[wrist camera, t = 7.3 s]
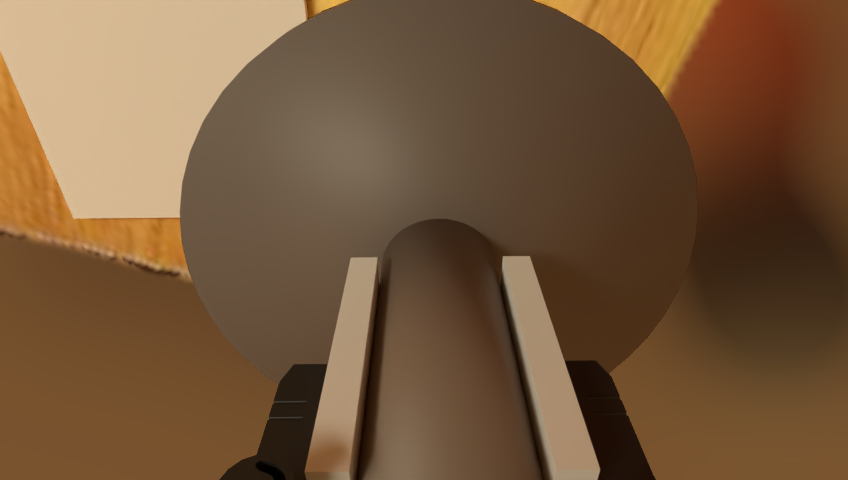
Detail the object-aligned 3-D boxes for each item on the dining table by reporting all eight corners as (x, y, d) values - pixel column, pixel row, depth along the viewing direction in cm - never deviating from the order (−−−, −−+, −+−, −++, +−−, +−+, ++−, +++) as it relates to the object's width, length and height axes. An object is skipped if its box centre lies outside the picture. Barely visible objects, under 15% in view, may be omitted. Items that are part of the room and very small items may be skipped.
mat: (-52, -89, 26) (-61, -90, 25) (295, -93, 26) (292, -93, 25) (78, 214, 35) (73, 218, 35) (331, 212, 35) (330, 216, 35)
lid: (126, -13, 13) (-502, 106, 4) (752, -20, 13) (1458, 89, 4) (248, 407, 21) (128, 737, 13) (624, 404, 21) (765, 732, 12)
